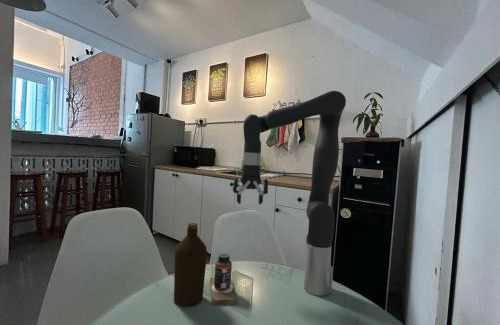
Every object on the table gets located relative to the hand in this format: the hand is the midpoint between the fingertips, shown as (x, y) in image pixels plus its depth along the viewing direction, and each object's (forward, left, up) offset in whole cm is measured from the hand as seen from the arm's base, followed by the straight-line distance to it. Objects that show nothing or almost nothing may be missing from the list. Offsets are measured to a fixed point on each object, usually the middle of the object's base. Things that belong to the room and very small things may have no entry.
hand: (249, 203), depth 99 cm
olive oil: (+22, +14, -30) cm, 40 cm away
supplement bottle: (+10, +10, -29) cm, 32 cm away
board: (+10, +10, -30) cm, 33 cm away
